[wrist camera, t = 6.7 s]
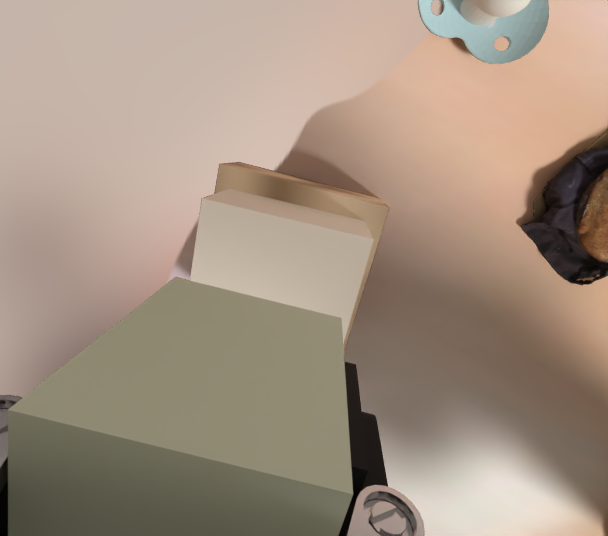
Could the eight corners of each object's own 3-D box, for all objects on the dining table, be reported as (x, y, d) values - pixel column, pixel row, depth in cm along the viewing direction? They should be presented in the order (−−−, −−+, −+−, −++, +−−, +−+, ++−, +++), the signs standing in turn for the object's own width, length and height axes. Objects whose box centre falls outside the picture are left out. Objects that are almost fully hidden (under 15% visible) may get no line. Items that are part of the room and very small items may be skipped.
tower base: (378, 197, 26) (389, 207, 22) (340, 324, 29) (342, 357, 25) (239, 162, 26) (219, 163, 22) (215, 292, 29) (192, 319, 24)
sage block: (341, 317, 11) (353, 494, 5) (302, 451, 13) (278, 702, 7) (175, 276, 11) (8, 409, 5) (155, 416, 13) (8, 636, 7)
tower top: (364, 220, 22) (373, 239, 17) (330, 341, 24) (330, 387, 19) (229, 188, 22) (201, 198, 17) (209, 312, 24) (179, 351, 19)
